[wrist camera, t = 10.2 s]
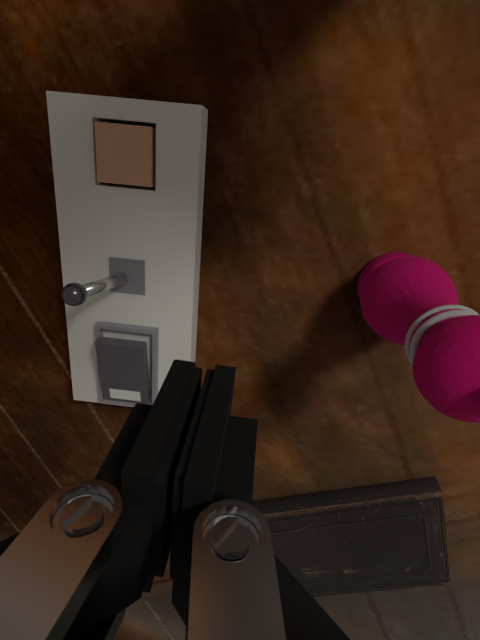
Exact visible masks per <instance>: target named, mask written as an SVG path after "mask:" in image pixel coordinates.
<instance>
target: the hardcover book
mask: <svg viewBox="0 0 480 640" xmlns="http://www.w3.org/2000/svg"><path fill="white" fill-rule="evenodd" d="M252 506H254V507H255V508H256V509H257V510H259V511H260V512H261V513H262V515H263V516H264V517H265V519H266V520H267V522H268V525H269V528H270V531H271V537H272V544H273V551H274V555H275V556H276V557H277V558H278V559H279V560H280V561H281V562H282V564H283V565H284V566H285V567H286V568H287V569H288V570H289V571H290V573H291V574H292V575H293V576H294V577H295V578H296V579H297V580H298V582H299V583H300V584H301V585H302V586H303V587H304V588H305V589H306V591H307V592H308V593H309V594H310V595H311V596H312V597H314V596H326V595H337V594H348V593H359V592H370V591H381V590H392V589H403V588H415V587H426V586H437V585H448V584H450V576H449V566H448V555H447V544H446V533H445V523H444V512H443V501H442V492H441V488H440V485H439V483H438V481H437V479H436V477H428V478H420V479H413V480H405V481H398V482H390V483H383V484H375V485H368V486H360V487H353V488H345V489H338V490H330V491H323V492H316V493H308V494H301V495H293V496H286V497H278V498H271V499H263V500H256V501H252Z"/></svg>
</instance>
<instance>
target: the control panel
mask: <svg viewBox="0 0 480 640" xmlns="http://www.w3.org/2000/svg"><path fill="white" fill-rule="evenodd" d="M46 97H47V108H48V119H49V131H50V142H51V153H52V164H53V175H54V187H55V198H56V209H57V220H58V232H59V243H60V254H61V265H62V276H63V288H64V287H65V286H66V285H67V284H69V283H79V284H81V285H84V284H87V283H90V282H93V281H96V280H99V279H102V278H106V277H109V276H112V275H115V274H118V273H121V272H124V273H126V274H127V275H128V276H129V280H128V282H127V283H125V284H122V285H119V286H117V287H114V288H111V289H108V290H105V291H103V292H100V293H97V294H94V295H92V296H89V297H87V299H86V301H85V302H84V303H83V304H82V305H80V306H70V305H68V304H66V303H65V310H66V321H67V332H68V344H69V355H70V366H71V377H72V388H73V400H79V401H88V402H96V403H104V404H112V405H121V406H129V407H134V406H135V404H137V402H129V401H121V400H112V399H104V394H103V388H102V382H101V377H100V371H99V365H98V360H97V354H96V349H95V342H96V340H97V338H98V337H99V336H100V337H109V338H118V339H127V340H135V341H144V342H147V354H148V367H149V379H150V391H151V398H150V400H149V403H148V404H149V405H153V403H154V401H155V399H156V397H157V395H158V393H159V390H160V388H161V386H162V384H163V382H164V380H165V378H166V376H167V374H168V371H169V369H170V367H171V365H172V363H173V361H174V360H175V359H177V360H184V361H191V362H195V355H196V335H197V316H198V296H199V277H200V258H201V238H202V219H203V200H204V180H205V161H206V141H207V122H208V109H206V108H205V107H204V106H203V105H195V104H184V103H173V102H163V101H152V100H141V99H130V98H120V97H109V96H98V95H88V94H77V93H66V92H55V91H46ZM94 121H96V122H107V121H117V122H127V123H138V124H148V125H156V188H153V187H143V186H133V185H123V184H114V183H104V182H97V164H96V144H95V123H94ZM141 404H145V403H141Z"/></svg>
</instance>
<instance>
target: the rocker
mask: <svg viewBox="0 0 480 640" xmlns="http://www.w3.org/2000/svg"><path fill="white" fill-rule="evenodd" d="M95 349H96V354H97V360H98V365H99V371H100V377H101V382H102V388H103V394H104V399H112V400H121V401H129V402H137V403H145V404H148V403H149V400H150V398H151V391H150V379H149V367H148V354H147V342H144V341H135V340H127V339H118V338H109V337H100V336H99V337H98V338H97V340H96V342H95Z"/></svg>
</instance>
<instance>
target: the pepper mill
mask: <svg viewBox="0 0 480 640" xmlns="http://www.w3.org/2000/svg"><path fill="white" fill-rule="evenodd" d="M357 291H358V297H359V299H360V301H361V311H362V314H363V316H364V319H365V320H366V322H367V324H368V325H369V326H370V327H371V328H372V329H373V330H374V331H375V332H376V333H377V334H378V335H379V336H381V337H382V338H384V339H386V340H388V341H391V342H394V343H397V344H401V345H405V352H406V355H407V358H408V360H409V361H410V363H411V364H412V365H413V376H414V381H415V383H416V385H417V387H418V389H419V391H420V393H421V394H422V396H423V397H424V398H425V399H426V400H427V401H428V402H429V403H430V404H431V405H432V406H433V407H434V408H435V409H436V410H438V411H439V412H441V413H443V414H444V415H446V416H449V417H451V418H454V419H456V420H461V421H465V422H475V423H480V315H479V314H478V313H477V312H475V311H474V310H472V309H470V308H468V307H465V306H461V305H457V293H456V290H455V287H454V285H453V283H452V281H451V279H450V277H449V276H448V275H447V273H446V272H444V271H443V270H442V269H441V268H440V267H439V266H438V265H437V264H435V263H434V262H432V261H430V260H427V259H425V258H420V257H413V256H411V255H409V254H406V253H402V252H390V253H386V254H382V255H380V256H378V257H376V258H375V259H373V260H372V261H370V262H369V263H368V264H367V265H366V266H365V268H364V269H363V270H362V272H361V274H360V276H359V279H358V284H357Z"/></svg>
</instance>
